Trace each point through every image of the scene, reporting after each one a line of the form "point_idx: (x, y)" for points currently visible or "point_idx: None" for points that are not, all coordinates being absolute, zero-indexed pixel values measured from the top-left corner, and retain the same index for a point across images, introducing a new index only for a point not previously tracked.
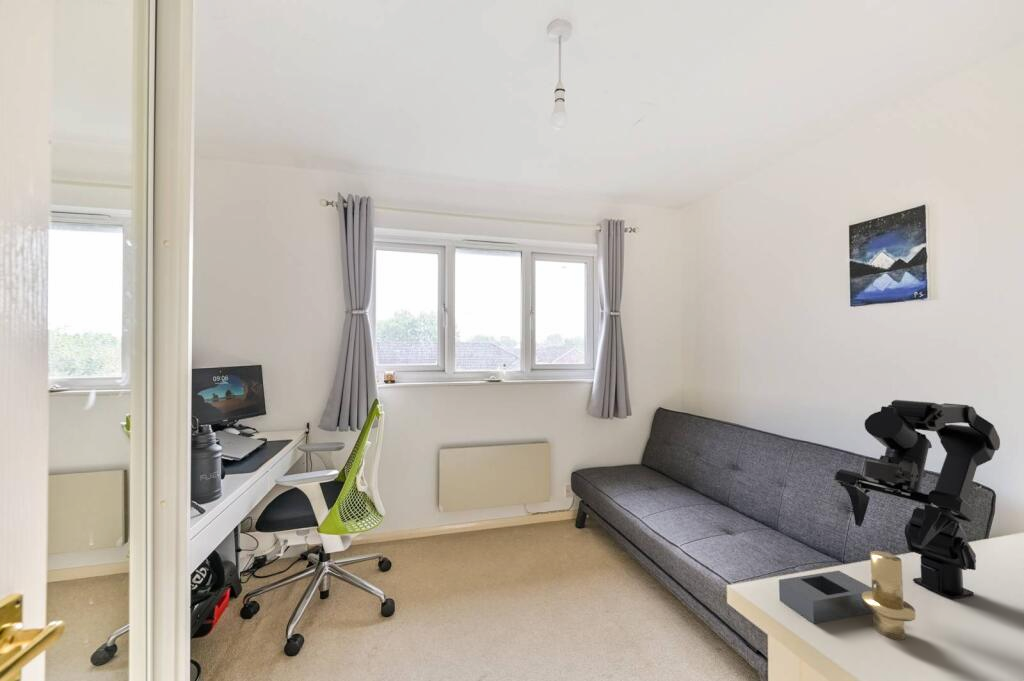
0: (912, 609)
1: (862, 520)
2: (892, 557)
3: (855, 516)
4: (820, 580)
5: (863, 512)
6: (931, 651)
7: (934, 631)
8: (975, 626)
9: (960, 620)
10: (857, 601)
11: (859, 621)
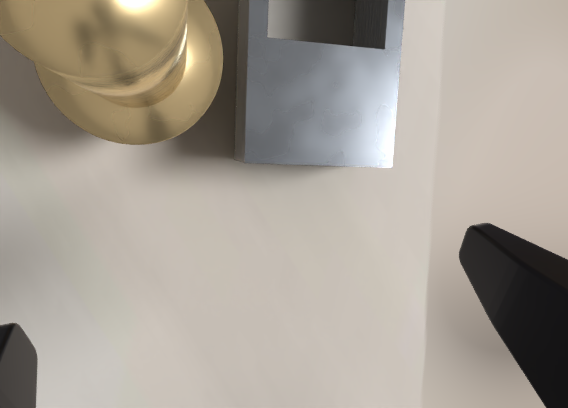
0: (63, 101)
1: (494, 309)
2: (51, 7)
3: (547, 258)
4: (377, 46)
5: (562, 388)
6: (38, 106)
7: (114, 238)
8: (102, 399)
9: (136, 387)
10: (243, 57)
11: None
